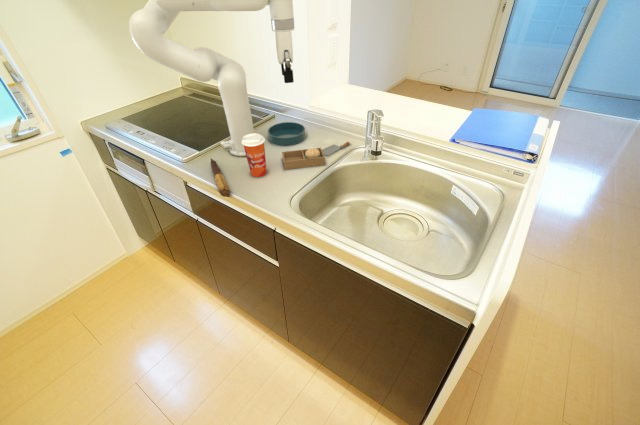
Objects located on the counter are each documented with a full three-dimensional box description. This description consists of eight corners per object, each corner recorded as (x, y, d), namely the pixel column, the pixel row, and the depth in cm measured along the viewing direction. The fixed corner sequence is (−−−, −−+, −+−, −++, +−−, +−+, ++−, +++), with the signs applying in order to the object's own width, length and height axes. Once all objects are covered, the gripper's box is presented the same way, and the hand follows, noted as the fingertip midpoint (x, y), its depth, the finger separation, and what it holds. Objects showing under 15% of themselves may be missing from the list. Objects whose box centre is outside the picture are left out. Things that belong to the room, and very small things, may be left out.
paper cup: (249, 180, 111) (242, 144, 102) (247, 169, 117) (240, 134, 108) (271, 176, 113) (266, 140, 104) (268, 166, 118) (262, 131, 110)
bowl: (269, 147, 130) (268, 139, 128) (267, 131, 142) (266, 124, 140) (308, 143, 132) (307, 135, 130) (302, 127, 144) (302, 120, 142)
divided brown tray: (284, 169, 116) (283, 161, 114) (283, 159, 122) (282, 151, 120) (325, 165, 118) (324, 157, 116) (321, 155, 124) (320, 147, 122)
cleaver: (318, 153, 126) (327, 157, 123) (318, 150, 125) (327, 154, 122) (341, 141, 133) (350, 144, 130) (341, 138, 132) (350, 141, 129)
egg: (306, 162, 118) (305, 153, 115) (304, 156, 121) (304, 147, 118) (320, 161, 119) (320, 152, 116) (318, 154, 122) (318, 145, 118)
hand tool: (232, 191, 103) (228, 199, 104) (216, 157, 122) (212, 164, 122) (223, 187, 101) (218, 195, 101) (208, 154, 119) (204, 160, 120)
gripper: (270, 21, 111) (275, 72, 122) (273, 30, 97) (279, 86, 108) (291, 20, 112) (295, 71, 122) (297, 28, 98) (300, 84, 109)
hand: (287, 78), depth 115 cm, fingers open, 9 cm apart
